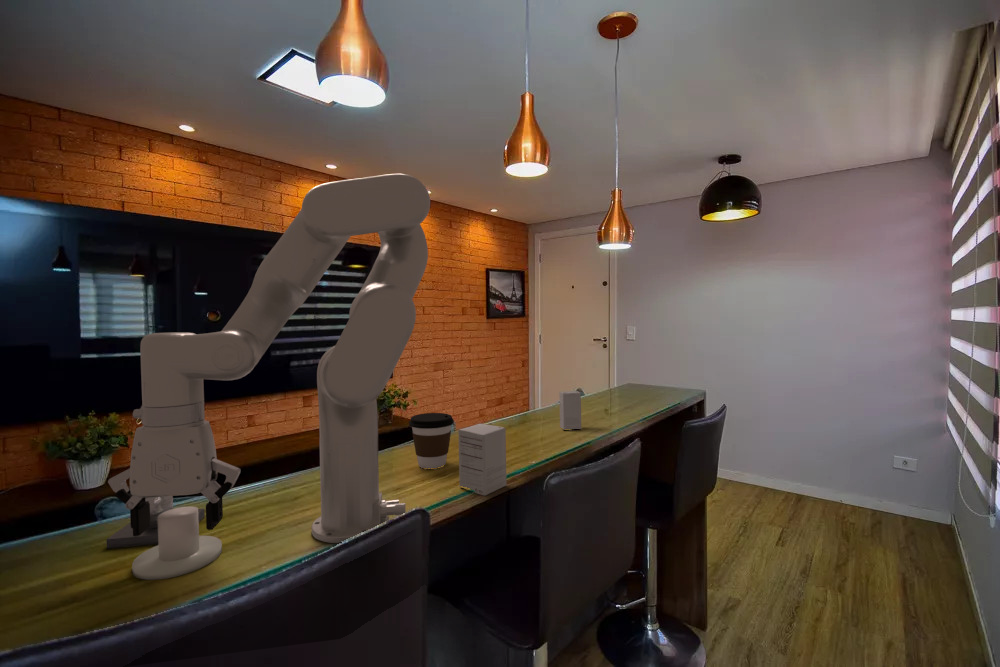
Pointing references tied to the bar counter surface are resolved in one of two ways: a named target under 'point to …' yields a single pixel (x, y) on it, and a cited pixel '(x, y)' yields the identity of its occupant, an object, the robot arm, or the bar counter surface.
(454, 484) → the bar counter surface
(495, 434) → the supplement box
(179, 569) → the white domed disc
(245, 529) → the bar counter surface
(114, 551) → the bar counter surface
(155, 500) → the square base with cylinder
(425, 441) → the coffee cup
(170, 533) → the cap
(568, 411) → the skincare box
